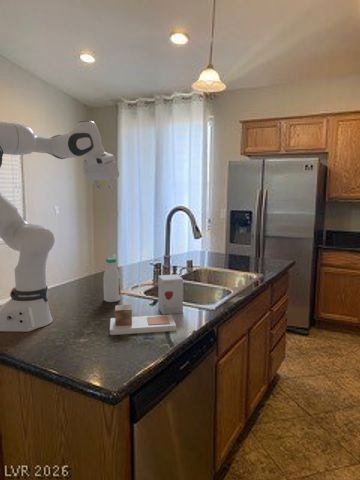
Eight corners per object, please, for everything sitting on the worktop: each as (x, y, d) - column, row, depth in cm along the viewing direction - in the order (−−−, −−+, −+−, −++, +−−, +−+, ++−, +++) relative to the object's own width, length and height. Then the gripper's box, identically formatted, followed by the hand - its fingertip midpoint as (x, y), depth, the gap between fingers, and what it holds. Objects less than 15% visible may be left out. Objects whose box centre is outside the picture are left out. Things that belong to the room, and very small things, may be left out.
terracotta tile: (148, 325, 136) (148, 324, 136) (146, 317, 144) (146, 317, 144) (169, 323, 138) (169, 323, 137) (167, 316, 145) (167, 315, 145)
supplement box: (162, 315, 153) (162, 280, 151) (157, 308, 161) (157, 275, 159) (183, 313, 155) (183, 278, 153) (178, 306, 164) (177, 273, 162)
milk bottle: (117, 303, 169) (115, 260, 167) (101, 302, 171) (99, 259, 168) (122, 298, 177) (121, 257, 174) (107, 297, 178) (106, 256, 176)
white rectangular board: (109, 335, 132) (109, 329, 132) (110, 323, 144) (110, 318, 144) (176, 330, 136) (176, 325, 136) (171, 319, 148) (171, 314, 148)
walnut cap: (115, 326, 135) (115, 310, 134) (115, 320, 141) (115, 305, 140) (132, 325, 136) (131, 309, 135) (131, 319, 142) (131, 304, 141)
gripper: (76, 161, 165) (86, 191, 170) (105, 159, 152) (114, 191, 157) (87, 158, 169) (96, 186, 174) (116, 155, 156) (125, 186, 161)
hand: (105, 188), depth 166 cm, fingers open, 8 cm apart
